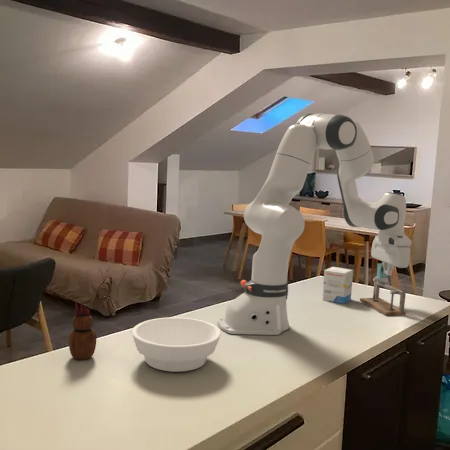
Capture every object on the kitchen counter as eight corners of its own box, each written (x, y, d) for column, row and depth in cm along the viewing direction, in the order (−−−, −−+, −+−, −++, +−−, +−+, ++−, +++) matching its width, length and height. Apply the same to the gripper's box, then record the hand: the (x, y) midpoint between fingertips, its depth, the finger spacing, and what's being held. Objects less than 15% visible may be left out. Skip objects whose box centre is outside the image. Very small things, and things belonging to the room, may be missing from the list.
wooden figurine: (68, 362, 134) (68, 304, 132) (68, 354, 140) (69, 297, 137) (96, 361, 136) (97, 303, 134) (95, 352, 141) (96, 296, 139)
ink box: (351, 299, 206) (354, 269, 204) (343, 304, 199) (346, 273, 197) (330, 295, 210) (332, 265, 209) (321, 299, 203) (324, 269, 202)
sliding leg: (374, 300, 200) (377, 264, 198) (370, 297, 203) (373, 263, 201) (386, 299, 201) (389, 264, 199) (381, 297, 204) (385, 263, 202)
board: (385, 315, 186) (387, 293, 185) (359, 301, 204) (361, 280, 203) (405, 315, 188) (407, 292, 187) (378, 300, 206) (380, 280, 205)
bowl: (123, 350, 144) (124, 320, 143) (203, 343, 152) (204, 314, 151) (141, 385, 123) (142, 350, 122) (232, 375, 131) (234, 342, 130)
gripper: (368, 232, 205) (365, 268, 207) (398, 242, 185) (394, 281, 187) (383, 232, 206) (380, 268, 208) (414, 242, 187) (410, 281, 189)
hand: (387, 274), depth 198 cm, fingers closed
